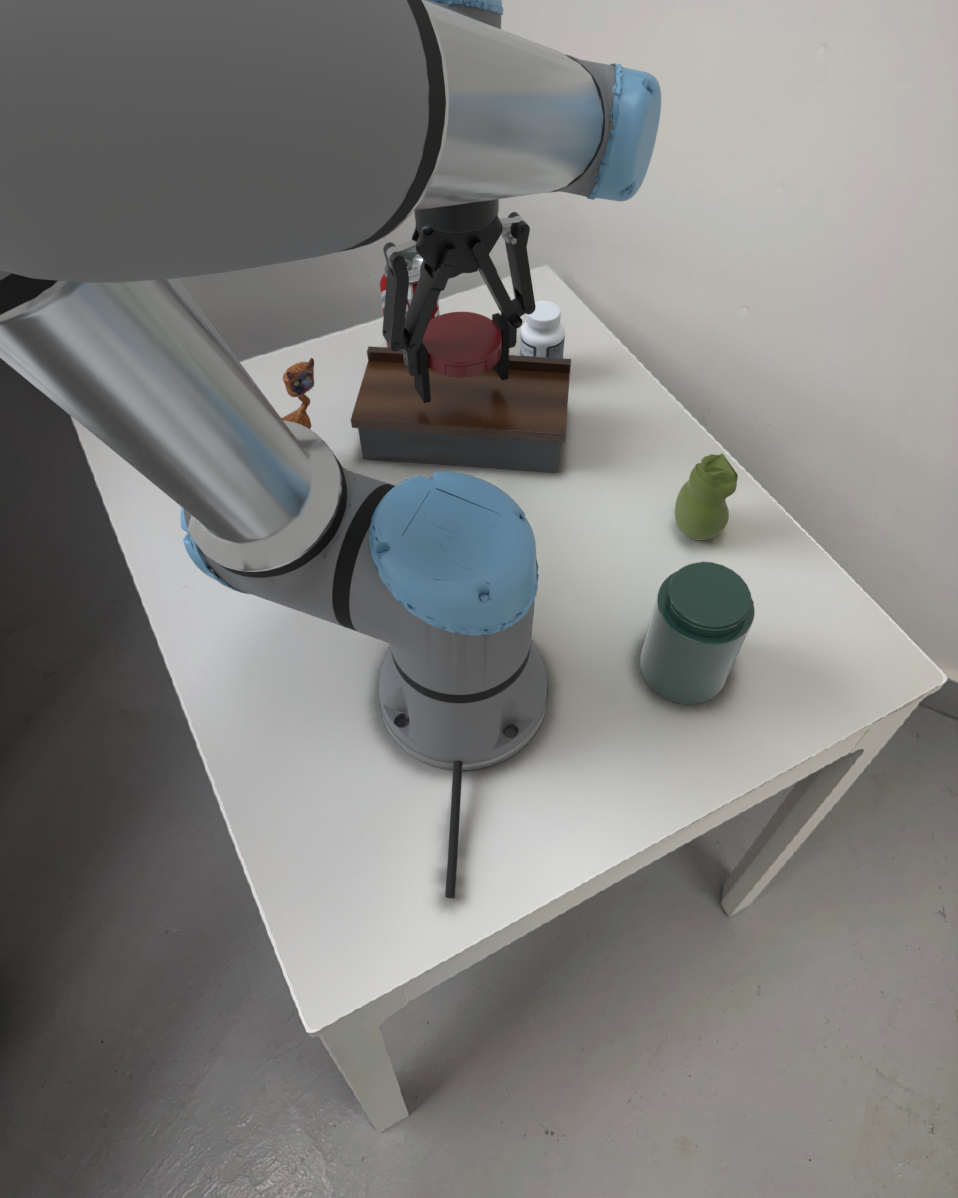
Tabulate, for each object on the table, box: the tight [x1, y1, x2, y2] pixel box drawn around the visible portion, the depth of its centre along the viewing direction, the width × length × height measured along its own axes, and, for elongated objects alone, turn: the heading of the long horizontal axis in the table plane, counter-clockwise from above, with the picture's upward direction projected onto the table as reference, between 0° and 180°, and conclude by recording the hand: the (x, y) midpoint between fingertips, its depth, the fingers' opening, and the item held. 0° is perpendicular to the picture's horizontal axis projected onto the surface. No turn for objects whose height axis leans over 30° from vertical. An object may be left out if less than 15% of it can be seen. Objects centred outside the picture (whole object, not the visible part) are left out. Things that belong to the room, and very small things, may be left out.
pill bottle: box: [519, 300, 566, 358], centre depth 98 cm, size 5×5×9 cm
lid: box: [422, 311, 502, 377], centre depth 84 cm, size 8×8×2 cm
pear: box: [674, 452, 739, 541], centre depth 82 cm, size 6×5×10 cm
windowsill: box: [350, 346, 572, 473], centre depth 92 cm, size 11×23×7 cm, turn 84°
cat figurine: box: [281, 357, 315, 430], centre depth 85 cm, size 18×7×14 cm, turn 134°
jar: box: [639, 561, 755, 705], centre depth 72 cm, size 8×8×12 cm
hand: (462, 383), depth 89 cm, fingers closed on lid, 8 cm apart
